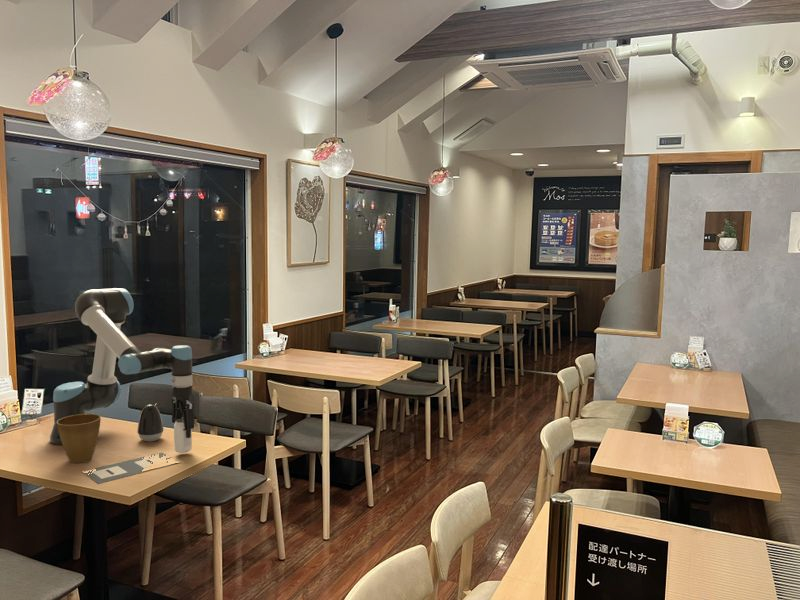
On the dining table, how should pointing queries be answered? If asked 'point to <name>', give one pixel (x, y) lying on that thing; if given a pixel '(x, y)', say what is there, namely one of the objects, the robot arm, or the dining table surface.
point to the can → (180, 437)
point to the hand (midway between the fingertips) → (183, 443)
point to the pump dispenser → (150, 423)
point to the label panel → (122, 469)
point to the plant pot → (79, 436)
